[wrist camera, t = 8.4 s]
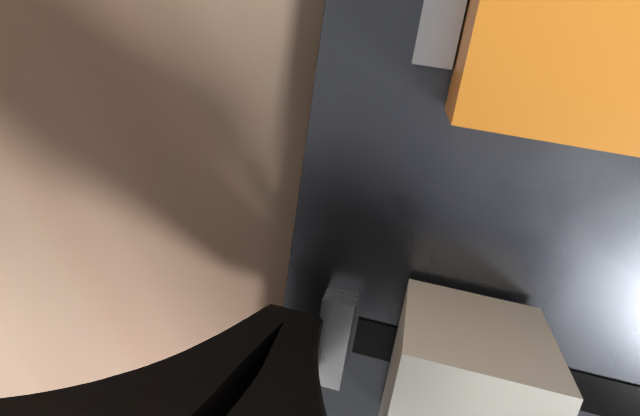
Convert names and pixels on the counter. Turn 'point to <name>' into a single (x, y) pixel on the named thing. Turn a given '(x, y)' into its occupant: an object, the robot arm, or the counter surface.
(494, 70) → the fader
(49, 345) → the counter surface
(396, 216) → the mixer panel
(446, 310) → the fader
